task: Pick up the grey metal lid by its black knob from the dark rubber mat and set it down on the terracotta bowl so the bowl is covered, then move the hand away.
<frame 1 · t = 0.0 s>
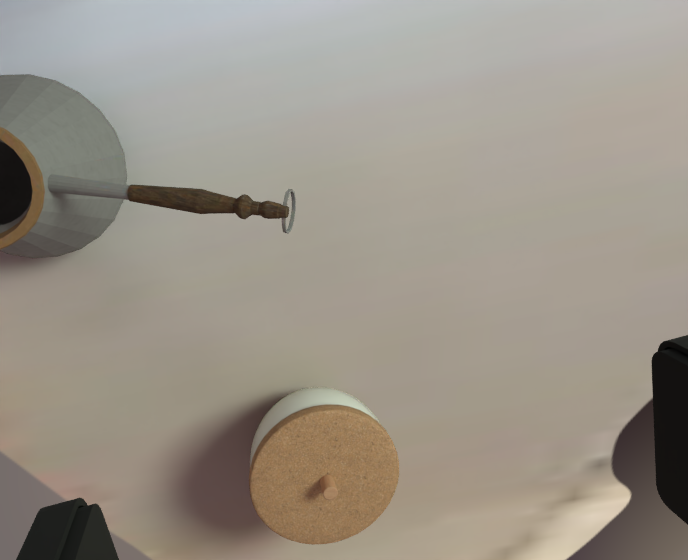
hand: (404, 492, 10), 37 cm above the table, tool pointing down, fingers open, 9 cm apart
lidded jar: (310, 425, 50), on the table
coffee pot: (120, 171, 43), on the table
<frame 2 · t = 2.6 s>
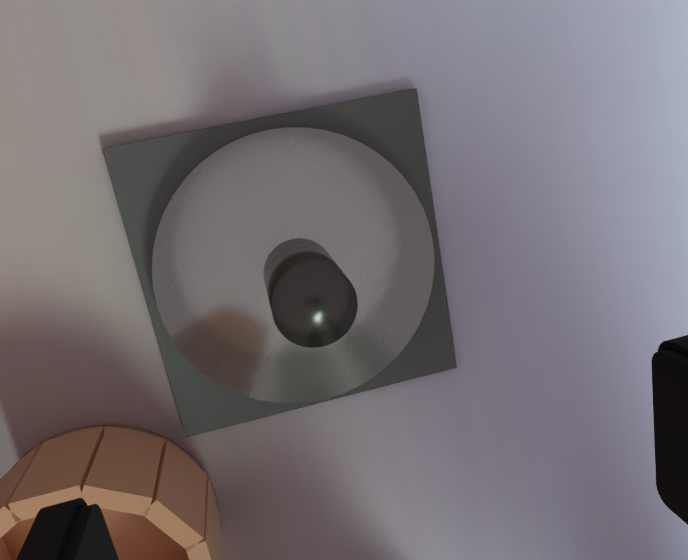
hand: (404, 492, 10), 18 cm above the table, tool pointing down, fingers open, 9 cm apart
mat: (295, 266, 27), on the table
bowl: (108, 523, 28), on the table
lid: (296, 268, 27), resting on mat
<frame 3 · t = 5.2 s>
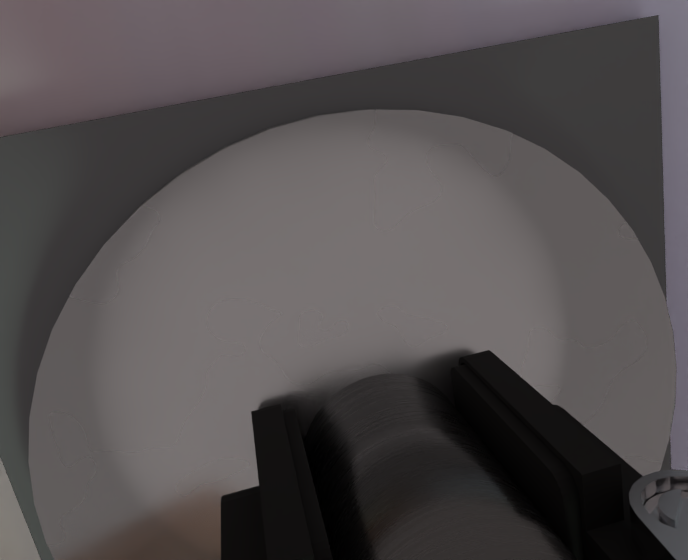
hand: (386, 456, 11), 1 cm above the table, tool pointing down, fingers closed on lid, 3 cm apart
mat: (365, 416, 12), on the table
lid: (373, 428, 12), resting on mat, touching gripper
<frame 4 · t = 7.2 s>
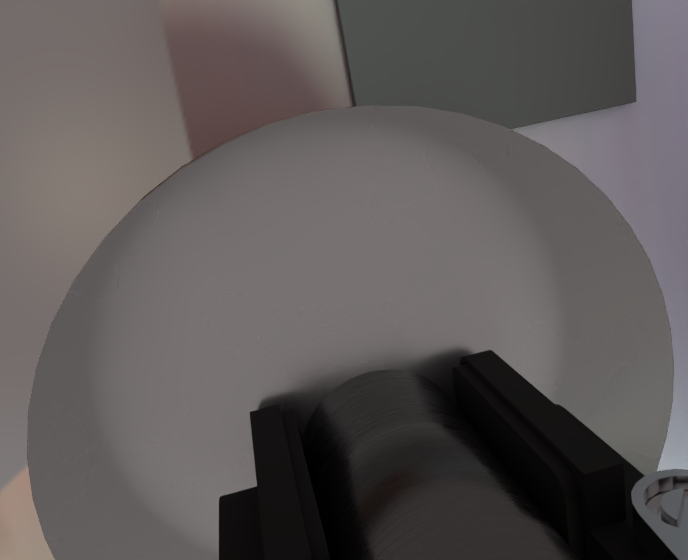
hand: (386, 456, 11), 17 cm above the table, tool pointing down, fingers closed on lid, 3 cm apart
lid: (371, 424, 12), point 16 cm above the table, touching gripper
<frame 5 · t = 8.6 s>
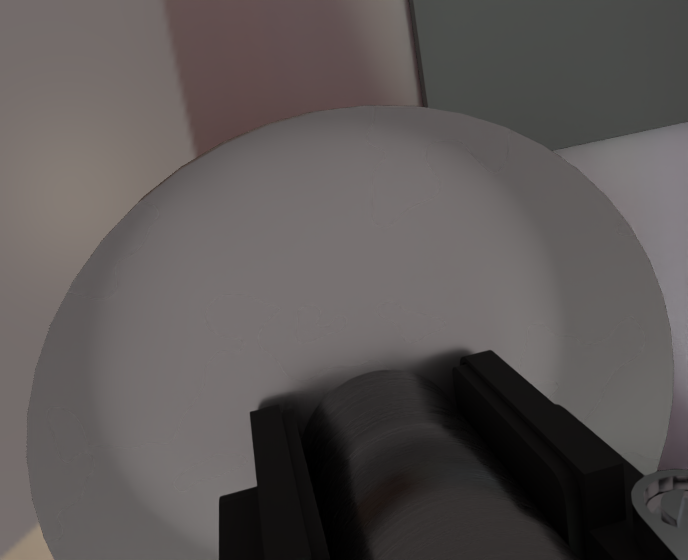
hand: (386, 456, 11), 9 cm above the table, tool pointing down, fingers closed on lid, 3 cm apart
lid: (371, 424, 12), point 8 cm above the table, touching gripper
when the fingers open (8 cm above the table, at t = 9.6 s): lid drops 2 cm, resting on bowl.
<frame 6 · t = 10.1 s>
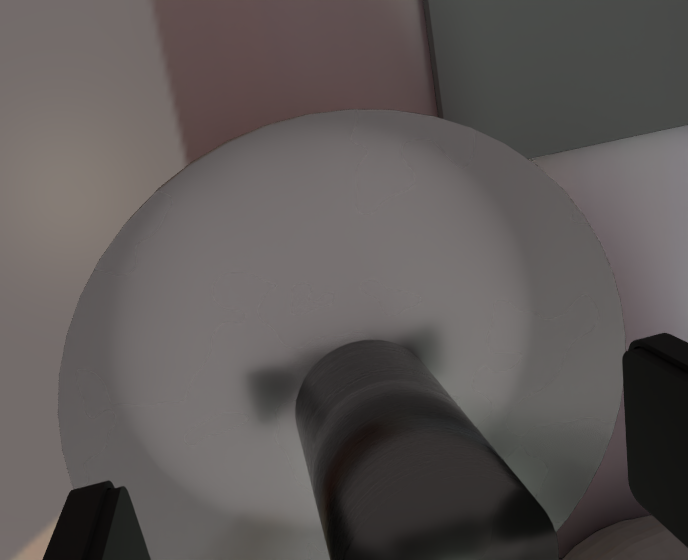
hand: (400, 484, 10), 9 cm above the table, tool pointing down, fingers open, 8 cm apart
lid: (358, 390, 14), point 5 cm above the table, touching bowl
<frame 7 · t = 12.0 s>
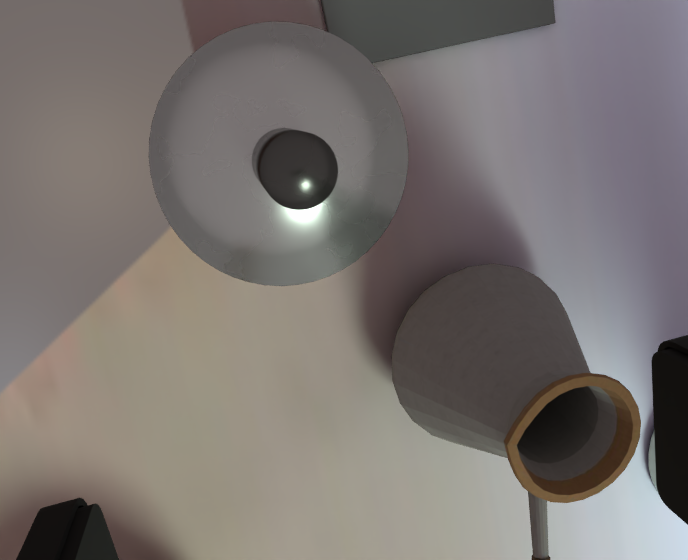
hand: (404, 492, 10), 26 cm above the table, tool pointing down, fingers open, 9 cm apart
coffee pot: (454, 408, 41), on the table
lid: (282, 159, 29), point 5 cm above the table, touching bowl
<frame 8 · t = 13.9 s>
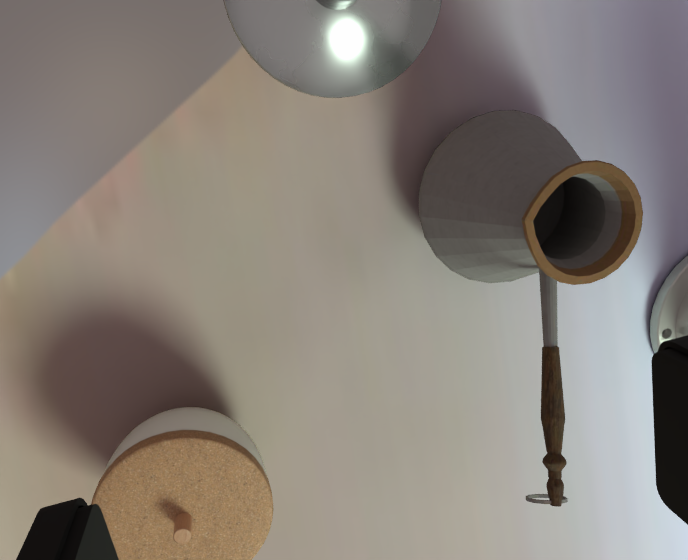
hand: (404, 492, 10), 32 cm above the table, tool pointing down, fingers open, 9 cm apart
lidded jar: (189, 450, 44), on the table
coffee pot: (472, 261, 45), on the table
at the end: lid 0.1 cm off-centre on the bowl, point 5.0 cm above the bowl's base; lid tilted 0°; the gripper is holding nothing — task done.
